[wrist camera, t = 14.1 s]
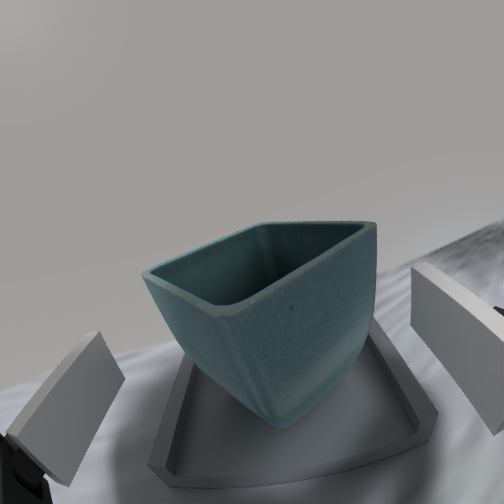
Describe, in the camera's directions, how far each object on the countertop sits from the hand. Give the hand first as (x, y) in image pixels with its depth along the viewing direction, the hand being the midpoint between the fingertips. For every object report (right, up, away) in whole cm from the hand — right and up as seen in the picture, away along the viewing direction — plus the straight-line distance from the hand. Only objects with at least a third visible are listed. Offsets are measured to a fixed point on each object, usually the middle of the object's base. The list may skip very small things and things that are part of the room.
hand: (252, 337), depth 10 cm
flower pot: (+2, -5, +5) cm, 8 cm away
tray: (+2, -6, +6) cm, 9 cm away
